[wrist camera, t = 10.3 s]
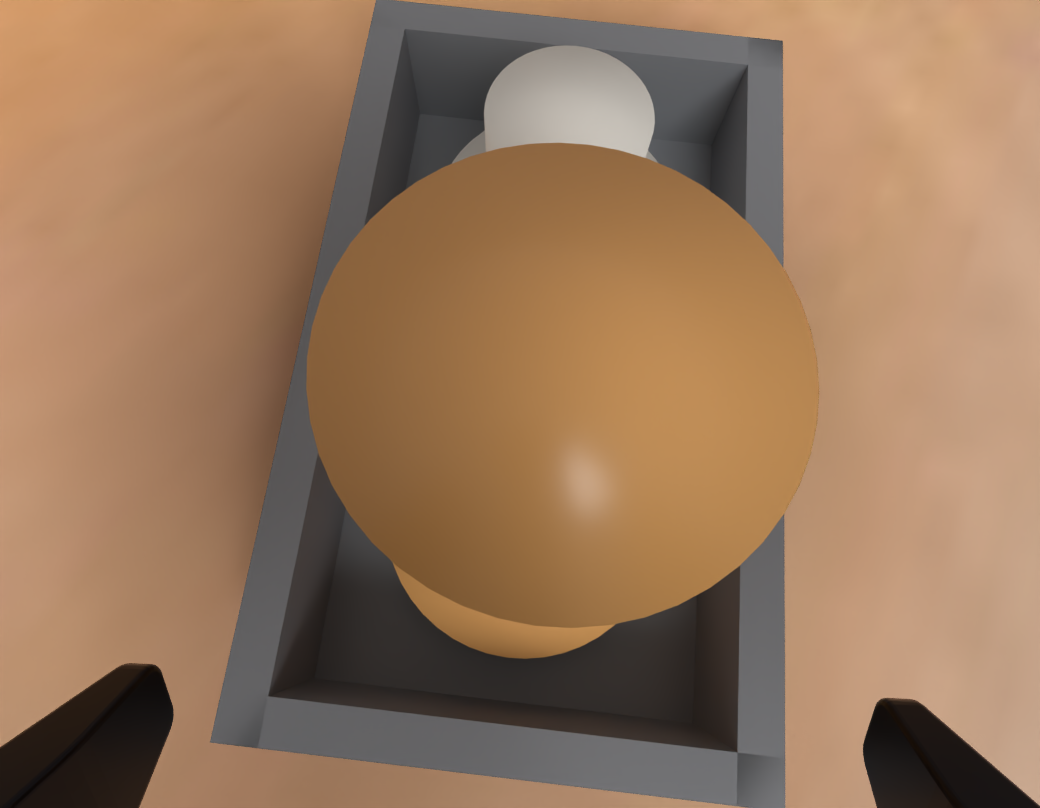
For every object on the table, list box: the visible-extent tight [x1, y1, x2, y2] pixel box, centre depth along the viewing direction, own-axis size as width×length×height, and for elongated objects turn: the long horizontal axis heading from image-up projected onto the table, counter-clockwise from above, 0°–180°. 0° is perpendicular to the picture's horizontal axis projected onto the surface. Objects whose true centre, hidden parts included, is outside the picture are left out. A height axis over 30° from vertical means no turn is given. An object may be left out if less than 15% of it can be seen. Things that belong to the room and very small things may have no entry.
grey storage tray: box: [210, 0, 785, 808], centre depth 18 cm, size 20×12×7 cm, turn 174°
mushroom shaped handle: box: [306, 143, 819, 659], centre depth 12 cm, size 7×7×13 cm
